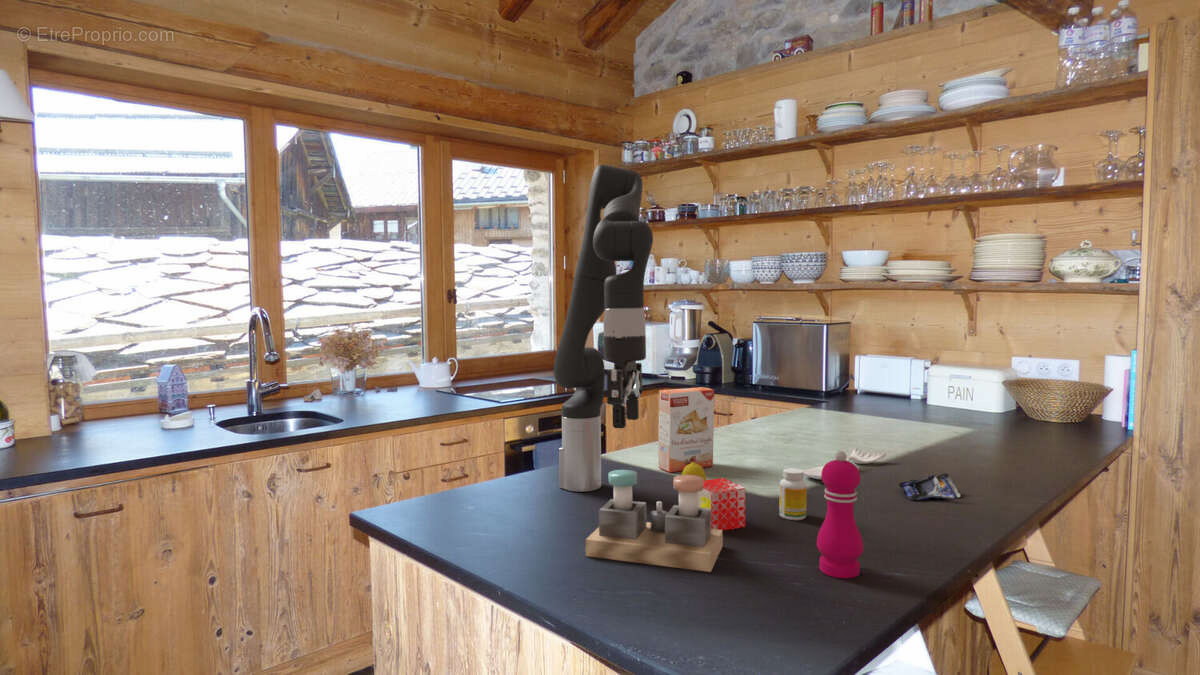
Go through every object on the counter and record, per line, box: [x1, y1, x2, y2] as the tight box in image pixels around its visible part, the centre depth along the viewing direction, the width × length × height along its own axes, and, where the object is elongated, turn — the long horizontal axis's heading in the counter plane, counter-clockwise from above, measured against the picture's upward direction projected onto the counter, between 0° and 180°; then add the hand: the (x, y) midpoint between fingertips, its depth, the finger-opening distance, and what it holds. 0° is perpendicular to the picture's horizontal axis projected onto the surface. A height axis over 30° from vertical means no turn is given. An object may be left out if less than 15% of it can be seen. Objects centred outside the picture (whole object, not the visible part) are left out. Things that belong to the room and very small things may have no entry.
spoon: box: [802, 447, 887, 481], centre depth 175 cm, size 9×32×4 cm, turn 133°
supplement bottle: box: [778, 467, 808, 521], centre depth 139 cm, size 5×5×10 cm
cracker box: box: [658, 386, 715, 473], centre depth 178 cm, size 14×6×21 cm, turn 117°
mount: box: [585, 498, 724, 573], centre depth 121 cm, size 22×12×8 cm, turn 71°
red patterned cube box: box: [698, 477, 746, 531], centre depth 135 cm, size 8×8×8 cm
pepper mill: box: [816, 450, 864, 579], centre depth 111 cm, size 7×7×20 cm
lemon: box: [681, 462, 707, 481], centre depth 153 cm, size 6×6×8 cm
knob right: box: [672, 474, 703, 518], centre depth 118 cm, size 5×5×7 cm
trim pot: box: [650, 500, 669, 532], centre depth 123 cm, size 3×3×5 cm
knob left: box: [607, 469, 638, 511], centre depth 122 cm, size 5×5×7 cm
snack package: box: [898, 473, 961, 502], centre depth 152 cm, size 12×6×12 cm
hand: (626, 423), depth 122 cm, fingers open, 8 cm apart
